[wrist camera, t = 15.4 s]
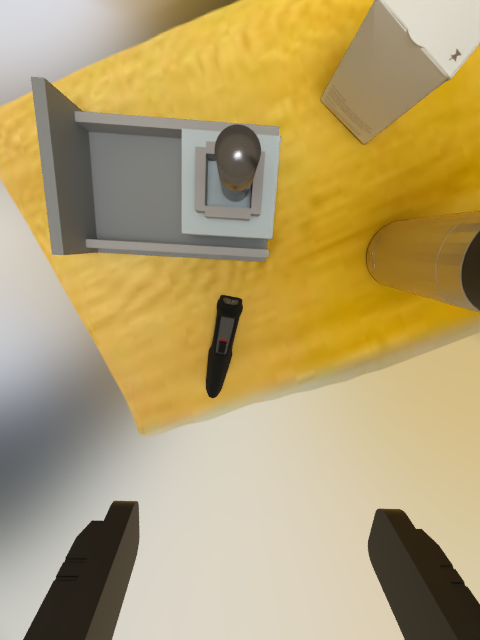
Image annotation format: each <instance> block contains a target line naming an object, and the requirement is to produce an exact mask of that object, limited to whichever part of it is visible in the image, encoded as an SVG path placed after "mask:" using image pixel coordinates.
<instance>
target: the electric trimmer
mask: <svg viewBox="0 0 480 640" xmlns="http://www.w3.org/2000/svg"><path fill="white" fill-rule="evenodd" d="M242 309H243V305H242V299H240V298H235V297H230V296H225V295H221V297H220V299H219V300H218V303H217V318H216V325H215V332H214V338H213V342H212V346H211V348H210V349H209V355H208V366H207V377H206V390H207V393H208V395H209V397H211V398H215V397H216V396H217V395H218V394H219V392H220V391H221V389H222V386H223V383H224V380H225V377H226V373H227V370H228V367H229V364H230V361H231V357H232V345H233V341H234V337H235V333H236V329H237V325H238V321H239V317H240V315H241V312H242Z"/></svg>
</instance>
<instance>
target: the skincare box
mask: <svg viewBox="0 0 480 640" xmlns="http://www.w3.org/2000/svg"><path fill="white" fill-rule="evenodd" d="M479 44H480V0H375V1H374V3H373V4H372V6H371V8H370V10H369V12H368V14H367V15H366V17H365V19H364V21H363V23H362V24H361V26H360V28H359V30H358V32H357V34H356V35H355V37H354V39H353V41H352V43H351V44H350V46H349V48H348V50H347V52H346V53H345V55H344V57H343V59H342V61H341V63H340V64H339V66H338V68H337V70H336V72H335V73H334V75H333V77H332V79H331V81H330V82H329V84H328V86H327V88H326V90H325V91H324V93H323V95H322V97H321V99H320V100H321V101H322V102H323V103H324V104H325V105H326V107H327V108H328V109H329V110H330V111H331V112H332V113H333V114H334V115H335V116H336V117H337V118H338V119H339V120H340V121H341V122H342V123H343V124H344V125H345V126H346V127H347V128H348V129H349V130H350V131H351V132H352V133H353V134H354V135H355V136H356V137H357V138H358V139H359V140H360V141H361V142H362V143H363V144H366V143H368V142H369V141H370V140H371V139H373V138H374V137H375V136H376V135H378V134H379V133H380V132H381V131H383V130H384V129H385V128H386V127H388V126H389V125H390V124H392V123H393V122H394V121H395V120H397V119H398V118H399V117H400V116H402V115H403V114H404V113H406V112H407V111H408V110H409V109H411V108H412V107H413V106H415V105H416V104H417V103H418V102H420V101H421V100H422V99H423V98H425V97H426V96H427V95H429V94H430V93H431V92H432V91H434V90H435V89H436V88H438V87H439V86H440V85H442V84H443V83H445V82H446V81H448V80H450V79H451V78H452V77H453V76H454V74H455V73H456V72H457V71H458V70H459V68H460V67H461V66H462V65H463V64H464V62H465V61H466V60H467V59H468V58H469V56H470V55H471V54H472V53H473V51H474V50H475V49H476V48H477V47H478V45H479Z"/></svg>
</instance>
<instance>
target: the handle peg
mask: <svg viewBox="0 0 480 640" xmlns="http://www.w3.org/2000/svg"><path fill="white" fill-rule="evenodd" d="M214 152H215V159H216V164H217V169H218V174H219V179H220V184H221V189H222V192H223V194H224V196H225V197H226V198H227V199H228V200H230V201H233V202H239V201H242V200H243V199H244V198H245V197H246V196H247V195H248V193H249V190H250V187H251V184H252V181H253V178H254V175H255V172H256V169H257V166H258V163H259V160H260V157H261V145H260V141H259V139H258V137H257V135H256V134H255V133H254V131H253V130H251V129H250V128H249V127H247V126H244V125H240V124H235V125H231V126H228V127H226V128H225V129H224V130H223V131H222V132H221V133H220V134H219V136H218V137H217V140H216V142H215V149H214Z"/></svg>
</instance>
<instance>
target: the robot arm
mask: <svg viewBox="0 0 480 640" xmlns="http://www.w3.org/2000/svg"><path fill="white" fill-rule="evenodd" d="M366 260H367V267H368V269H369V272H370V274H371V275H372V277H373V278H374V279H375V280H376V281H378V282H379V283H381V284H383V285H386V286H390V287H393V288H396V289H400V290H403V291H406V292H410V293H413V294H417V295H420V296H424V297H427V298H431V299H434V300H438V301H441V302H444V303H448V304H451V305H455V306H458V307H462V308H466V309H469V310H473V311H476V312H480V211H473V212H465V213H457V214H449V215H441V216H433V217H425V218H416V219H408V220H401V221H395V222H392V223H390V224H388V225H386V226H384V227H383V228H381V229H380V230H379V231H378V232H377V233H376V235H375V236H374V237H373V239H372V240H371V242H370V244H369V247H368V251H367V259H366ZM138 506H139V505H138V502H137V501H114V502H113V503H112V504H111V506H110V508H109V511H108V513H107V515H106V517H105V519H104V521H91V522H90V523H89V525H87V527H86V528H85V529H84V530H83V531H82V532H81V533H80V534H79V535H78V536H77V537H76V539H75V541H74V543H73V545H72V547H71V549H70V551H69V553H68V554H67V556H66V560H65V562H64V563H63V564H62V566H61V568H60V570H59V572H58V574H57V576H56V579H55V581H53V583H52V585H51V587H50V589H49V591H48V593H47V595H46V597H45V599H44V601H43V602H42V604H41V607H40V608H39V610H38V612H37V614H36V616H35V618H34V620H33V622H32V624H31V626H30V628H29V629H28V632H27V633H26V635H25V637H24V639H23V640H112V637H113V634H114V630H115V627H116V623H117V620H118V617H119V613H120V610H121V607H122V603H123V600H124V596H125V593H126V590H127V587H128V583H129V580H130V576H131V573H132V570H133V566H134V563H135V559H136V556H137V550H138V544H139V507H138ZM368 552H369V557H370V560H371V563H372V566H373V568H374V571H375V573H376V575H377V577H378V580H379V582H380V584H381V586H382V589H383V591H384V593H385V595H386V597H387V600H388V602H389V604H390V607H391V609H392V611H393V614H394V616H395V618H396V620H397V622H398V625H399V627H400V630H401V632H402V634H403V636H404V638H405V640H480V604H479V603H478V601H477V600H476V598H475V597H474V596H473V594H472V593H471V591H470V590H469V588H468V587H466V586H465V584H464V581H463V580H462V578H461V577H460V575H459V574H458V572H457V571H456V569H453V565H452V564H451V562H450V561H449V559H448V558H447V556H446V555H445V554H444V552H443V551H442V549H441V548H440V546H439V545H438V544H437V543H436V542H435V541H434V540H433V539H432V538H430V537H429V536H428V535H427V534H426V533H425V532H424V531H423V530H422V529H416V528H415V527H414V525H413V524H412V522H411V521H410V519H409V518H408V516H407V515H406V513H405V512H404V511H402V510H400V509H377V510H376V513H375V516H374V520H373V524H372V528H371V532H370V536H369V540H368Z"/></svg>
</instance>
